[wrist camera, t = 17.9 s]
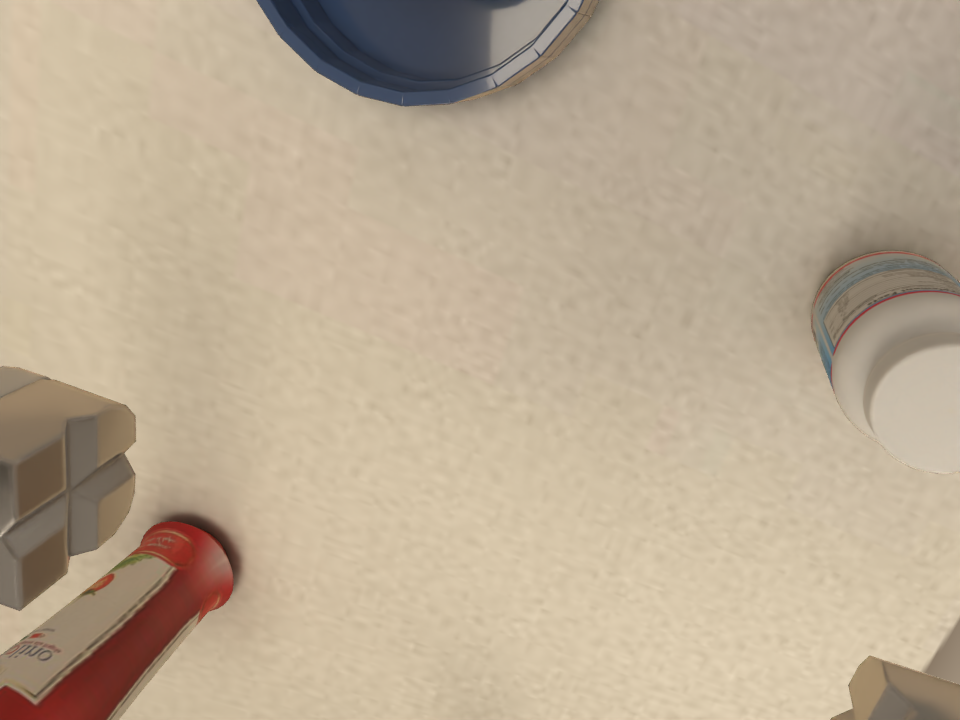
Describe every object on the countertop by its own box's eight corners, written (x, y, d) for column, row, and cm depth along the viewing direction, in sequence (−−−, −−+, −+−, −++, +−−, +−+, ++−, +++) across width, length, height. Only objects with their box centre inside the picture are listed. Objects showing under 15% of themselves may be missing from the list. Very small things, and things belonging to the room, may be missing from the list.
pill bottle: (945, 378, 36) (1035, 504, 26) (802, 369, 38) (835, 485, 28) (970, 247, 34) (1078, 329, 24) (817, 243, 36) (858, 320, 25)
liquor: (181, 609, 55) (-270, 1082, 30) (131, 519, 53) (-394, 941, 28) (265, 592, 52) (-153, 1096, 27) (215, 497, 50) (-282, 941, 25)
